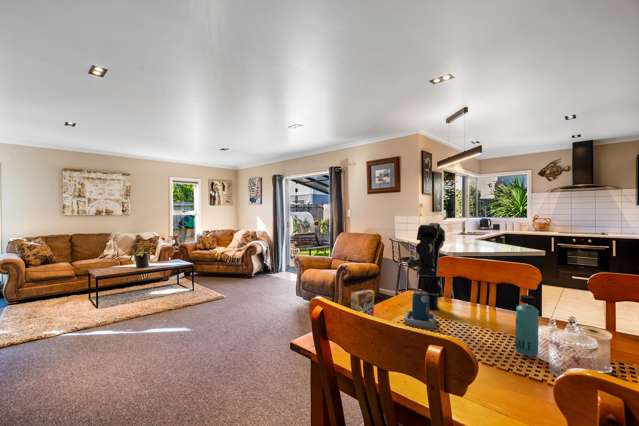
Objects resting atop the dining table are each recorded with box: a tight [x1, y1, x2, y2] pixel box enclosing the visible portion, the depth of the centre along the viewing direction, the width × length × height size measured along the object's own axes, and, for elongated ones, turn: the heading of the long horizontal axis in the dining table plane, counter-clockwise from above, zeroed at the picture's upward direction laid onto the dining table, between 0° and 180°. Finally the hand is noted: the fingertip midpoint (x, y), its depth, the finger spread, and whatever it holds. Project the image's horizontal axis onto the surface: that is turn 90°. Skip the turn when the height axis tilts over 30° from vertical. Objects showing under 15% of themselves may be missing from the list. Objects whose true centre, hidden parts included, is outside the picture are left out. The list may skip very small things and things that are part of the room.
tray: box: [403, 309, 437, 331], centre depth 129 cm, size 12×12×2 cm
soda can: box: [411, 290, 430, 321], centre depth 129 cm, size 7×7×12 cm
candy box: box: [350, 289, 375, 316], centre depth 119 cm, size 9×4×15 cm, turn 123°
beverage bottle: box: [514, 294, 540, 357], centre depth 99 cm, size 6×7×20 cm
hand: (426, 287), depth 135 cm, fingers open, 9 cm apart
